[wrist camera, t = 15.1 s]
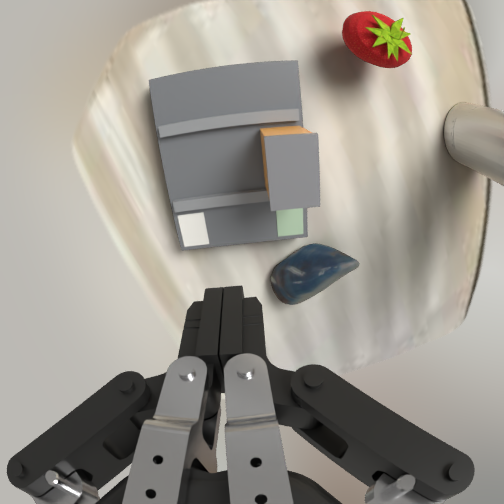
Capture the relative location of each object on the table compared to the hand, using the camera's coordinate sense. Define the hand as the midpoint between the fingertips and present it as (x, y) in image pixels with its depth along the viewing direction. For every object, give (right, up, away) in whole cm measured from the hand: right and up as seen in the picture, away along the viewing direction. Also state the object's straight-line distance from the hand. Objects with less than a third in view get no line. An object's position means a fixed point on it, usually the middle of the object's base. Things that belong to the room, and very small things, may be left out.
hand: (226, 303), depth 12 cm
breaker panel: (-1, +13, +20) cm, 24 cm away
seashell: (+9, 0, +28) cm, 30 cm away
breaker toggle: (+4, +12, +17) cm, 21 cm away
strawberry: (+13, +26, +13) cm, 32 cm away
